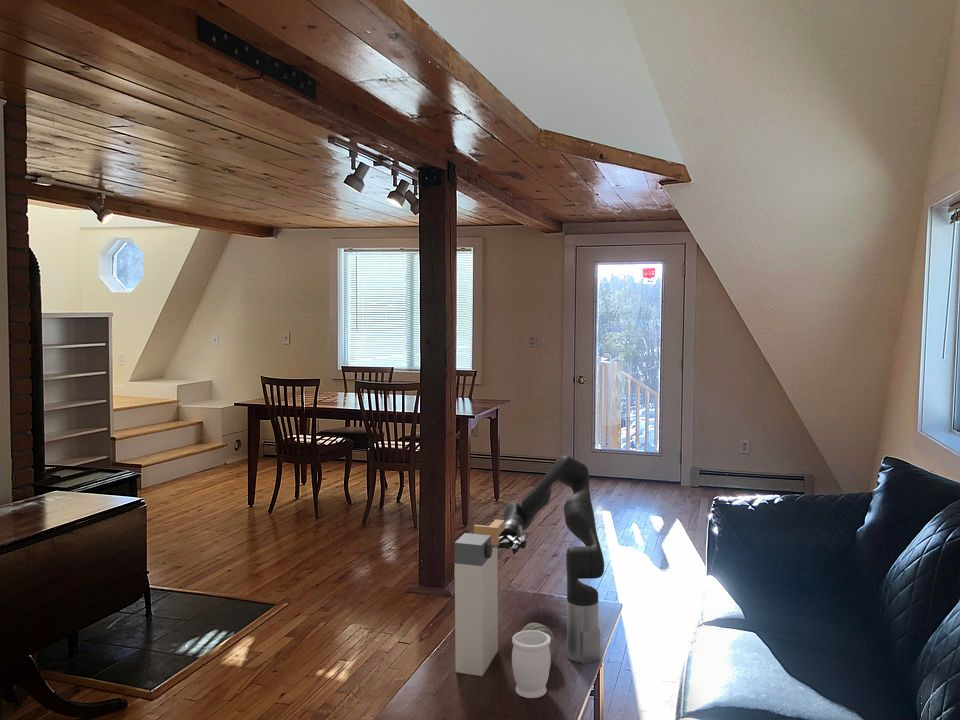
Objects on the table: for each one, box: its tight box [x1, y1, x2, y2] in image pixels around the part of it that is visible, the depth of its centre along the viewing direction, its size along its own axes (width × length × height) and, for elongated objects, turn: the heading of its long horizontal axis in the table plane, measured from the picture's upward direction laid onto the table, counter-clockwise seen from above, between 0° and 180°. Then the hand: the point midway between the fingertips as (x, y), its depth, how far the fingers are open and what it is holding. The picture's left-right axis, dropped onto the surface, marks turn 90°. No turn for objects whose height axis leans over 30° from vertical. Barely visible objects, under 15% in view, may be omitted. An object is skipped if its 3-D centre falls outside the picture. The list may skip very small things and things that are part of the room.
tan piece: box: [473, 519, 505, 545], centre depth 241 cm, size 16×8×5 cm, turn 163°
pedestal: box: [454, 532, 499, 677], centre depth 226 cm, size 16×9×38 cm, turn 163°
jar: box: [511, 630, 552, 699], centre depth 210 cm, size 11×10×15 cm
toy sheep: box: [520, 622, 557, 668], centre depth 226 cm, size 11×17×11 cm, turn 24°
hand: (500, 552), depth 252 cm, fingers open, 8 cm apart
